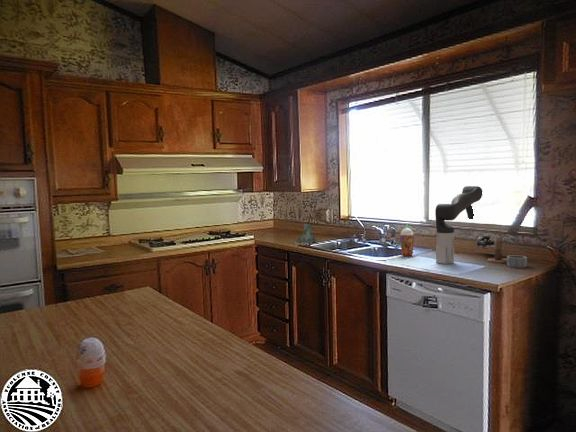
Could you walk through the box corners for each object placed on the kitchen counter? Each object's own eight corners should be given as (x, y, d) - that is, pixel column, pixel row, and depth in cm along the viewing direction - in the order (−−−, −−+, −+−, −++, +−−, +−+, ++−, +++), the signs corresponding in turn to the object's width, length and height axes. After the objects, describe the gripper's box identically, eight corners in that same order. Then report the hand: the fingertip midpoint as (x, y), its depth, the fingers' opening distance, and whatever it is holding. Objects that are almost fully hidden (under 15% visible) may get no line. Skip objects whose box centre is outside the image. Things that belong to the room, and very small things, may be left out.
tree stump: (286, 244, 345) (289, 221, 347) (306, 247, 356) (309, 225, 358) (300, 245, 330) (303, 221, 332) (320, 248, 342) (323, 226, 343)
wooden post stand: (503, 264, 237) (503, 239, 236) (483, 261, 246) (483, 238, 245) (512, 261, 244) (512, 237, 243) (493, 259, 253) (493, 236, 252)
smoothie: (397, 255, 276) (397, 223, 275) (408, 253, 279) (408, 222, 277) (405, 257, 268) (405, 224, 267) (416, 255, 271) (416, 223, 270)
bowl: (521, 268, 225) (521, 258, 225) (504, 266, 232) (504, 256, 232) (529, 265, 230) (529, 256, 230) (512, 263, 238) (512, 254, 237)
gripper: (472, 235, 270) (480, 238, 253) (496, 235, 268) (506, 238, 252) (472, 247, 270) (480, 251, 254) (496, 247, 268) (505, 251, 252)
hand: (493, 245), depth 253 cm, fingers open, 8 cm apart
